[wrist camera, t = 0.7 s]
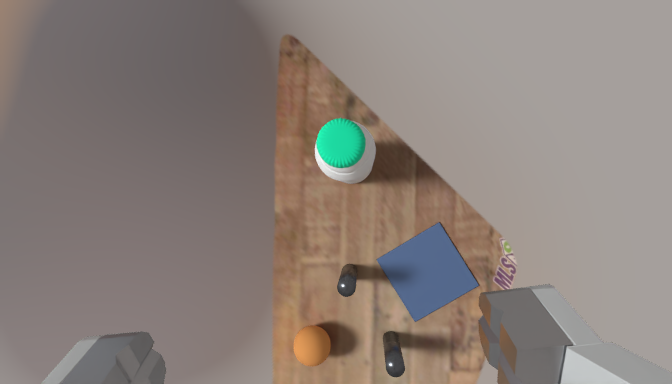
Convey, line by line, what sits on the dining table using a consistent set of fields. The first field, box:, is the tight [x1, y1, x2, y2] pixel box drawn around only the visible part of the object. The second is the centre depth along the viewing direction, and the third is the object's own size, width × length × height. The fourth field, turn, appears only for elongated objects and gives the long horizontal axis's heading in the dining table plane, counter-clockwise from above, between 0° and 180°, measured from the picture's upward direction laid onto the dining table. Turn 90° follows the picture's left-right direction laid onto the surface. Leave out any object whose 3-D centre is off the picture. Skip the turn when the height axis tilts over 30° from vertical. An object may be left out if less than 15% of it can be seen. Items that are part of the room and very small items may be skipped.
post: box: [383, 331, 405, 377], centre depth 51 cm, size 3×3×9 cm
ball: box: [294, 326, 331, 366], centre depth 54 cm, size 6×6×6 cm
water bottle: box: [315, 118, 376, 184], centre depth 43 cm, size 7×7×25 cm
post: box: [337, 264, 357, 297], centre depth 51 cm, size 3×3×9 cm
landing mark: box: [377, 223, 479, 322], centre depth 55 cm, size 12×12×1 cm
